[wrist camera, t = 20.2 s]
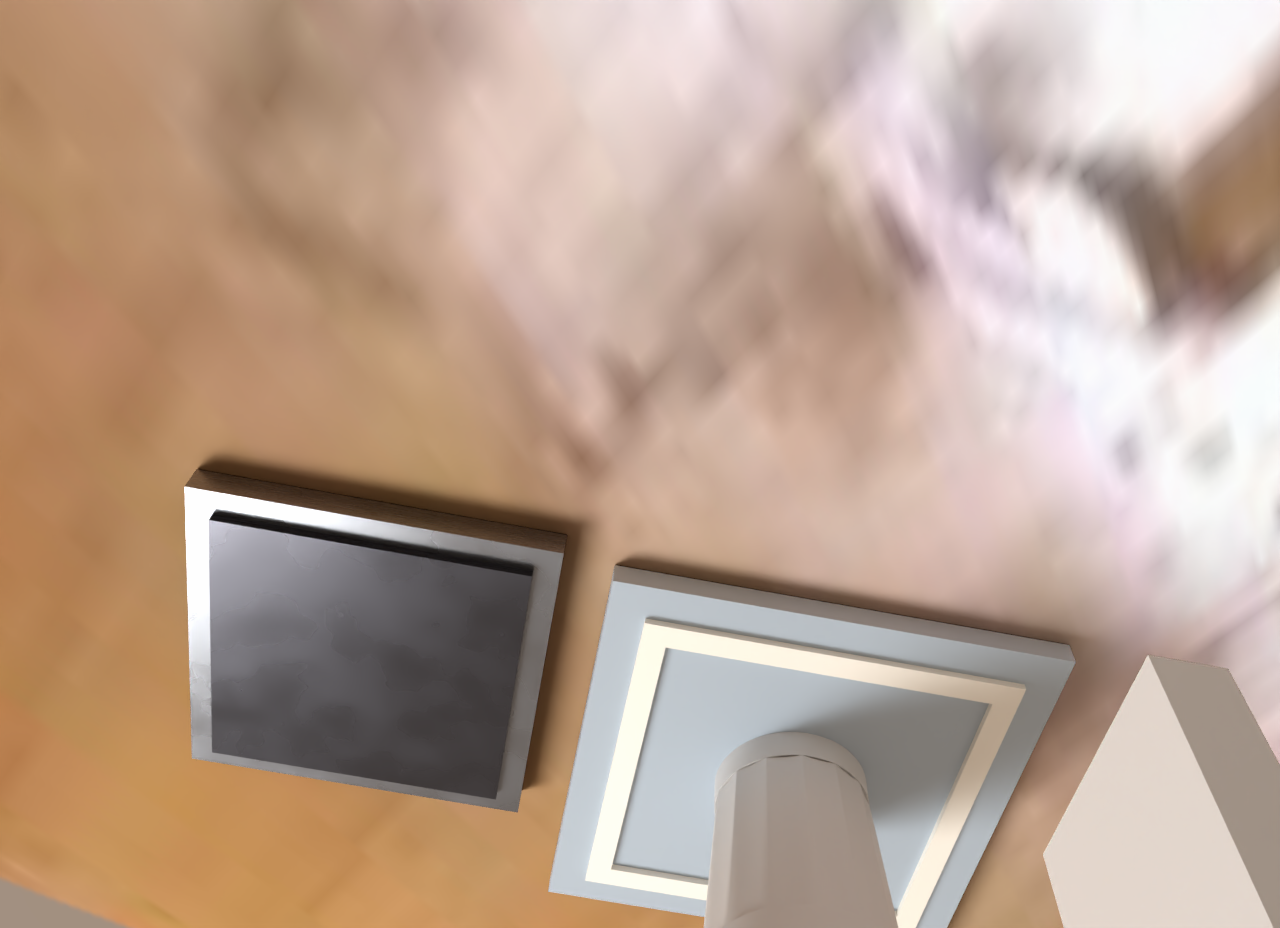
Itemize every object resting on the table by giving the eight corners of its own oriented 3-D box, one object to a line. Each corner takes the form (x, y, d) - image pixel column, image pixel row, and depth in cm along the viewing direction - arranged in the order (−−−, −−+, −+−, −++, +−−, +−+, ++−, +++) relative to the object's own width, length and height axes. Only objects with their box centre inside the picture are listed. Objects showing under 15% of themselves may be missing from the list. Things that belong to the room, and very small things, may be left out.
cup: (837, 690, 48) (869, 954, 38) (916, 818, 51) (965, 1091, 41) (660, 756, 50) (645, 1020, 40) (748, 873, 54) (754, 1145, 43)
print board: (550, 873, 56) (547, 897, 55) (614, 565, 46) (612, 585, 45) (930, 936, 57) (935, 960, 56) (1069, 645, 47) (1077, 667, 46)
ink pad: (202, 738, 52) (188, 765, 51) (196, 469, 45) (180, 492, 44) (521, 791, 53) (516, 819, 52) (567, 534, 46) (562, 560, 44)
